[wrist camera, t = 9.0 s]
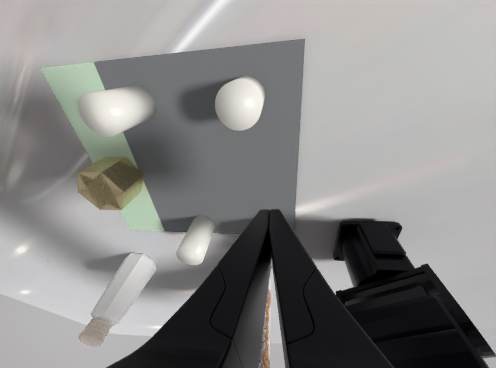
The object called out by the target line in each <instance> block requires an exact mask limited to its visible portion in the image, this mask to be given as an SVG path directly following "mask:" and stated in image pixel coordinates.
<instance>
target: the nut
mask: <svg viewBox="0 0 496 368" xmlns="http://www.w3.org/2000/svg"><path fill="white" fill-rule="evenodd" d="M77 177H78V192H79V193H80V194H81V195H82V196H84V197H85V198H86V199H87V200H89V201H90V202H91V203H92V204H94V205H95V206H96V207H97V208H99V209H100V210H122V209H123V208H124V207H125V206H126V205H128V204H129V203H130V202H131V201H132V200H133V199H134V198H135V197H136V196H137V195H138V194H139V193H140V192H141V189H142V184H143V178H144V175H143V174H142V173H141V172H140V171H139V170H138V169H137V168H136V167H135V166H134V165H133V164H132V163H131V162H130V161H129V160H128V159H127V158H126V157H104V158H102V159H100V160H99V161H97V162H95V163H93V164H91V165H90V166H88V167H86V168H84V169H82V170H81V171H79V172H77Z"/></svg>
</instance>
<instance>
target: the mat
mask: <svg viewBox="0 0 496 368" xmlns="http://www.w3.org/2000/svg"><path fill="white" fill-rule="evenodd" d="M304 46H305V39H298V40H289V41H280V42H271V43H262V44H253V45H244V46H235V47H226V48H217V49H208V50H199V51H190V52H181V53H172V54H163V55H153V56H144V57H135V58H126V59H117V60H108V61H99V62H90V63H81V64H72V65H63V66H54V67H45V68H40V69H41V71H42V72H43V74H44V76H45V78H46V80H47V81H48V83H49V85H50V87H51V89H52V91H53V92H54V94H55V96H56V98H57V100H58V101H59V103H60V105H61V107H62V109H63V111H64V112H65V114H66V116H67V118H68V120H69V121H70V123H71V125H72V127H73V129H74V131H75V132H76V134H77V136H78V138H79V140H80V141H81V143H82V145H83V147H84V149H85V151H86V152H87V154H88V156H89V158H90V160H91V161H92V163H95V162H97V161H99V160H100V159H102V158H104V157H126V158H127V159H128V160H129V161H130V162H131V163H132V164H133V165H134V166H135V167H136V168H137V169H138V170H139V171H140V172H141V173H142V174H143V175H144V178H143V184H142V189H141V192H140V193H139V194H138V195H137V196H136V197H135V198H134V199H133V200H132V201H131V202H130V203H129V204H128V205H126V206H125V207H124V208H123V209H122V210H119V212H120V214H121V216H122V218H123V220H124V221H125V223H126V225H127V227H128V229H129V230H145V231H171V232H187V231H188V229H189V227H190V225H191V223H192V221H193V219H194V218H195V217H197V216H207V217H209V218H211V219H212V220H213V221H214V223H215V229H214V232H213V233H237V234H242V232H243V231H244V230H245V229H246V227H247V226H248V225H249V223H250V222H251V221H252V220H253V218H254V217H255V216H256V214H257V213H258V212H259V211H260V210H261V209H269V210H271V209H280V210H281V212H282V213H283V215H284V217H285V218H286V220H287V221H288V223H289V224H290V226H291V228H292V229H293V231H294V221H295V204H296V186H297V169H298V151H299V134H300V116H301V98H302V81H303V63H304ZM242 76H253V77H255V78H257V79H258V80H259V81H260V82H261V83H262V85H263V87H264V90H265V100H264V104H263V107H262V111H261V114H260V117H259V119H258V121H257V122H256V123H255V124H254V125H253V126H252V127H251V128H249V129H246V130H242V131H237V130H232V129H230V128H228V127H226V126H225V125H224V124H223V123H222V122H221V121H220V119H219V118H218V116H217V113H216V110H215V99H216V96H217V93H218V91H219V90H220V89H221V87H223V86H224V85H225V84H227V83H229V82H231V81H233V80H235V79H237V78H240V77H242ZM134 85H137V86H141V87H143V88H145V89H146V90H148V91H149V92H150V93H151V95H152V96H153V98H154V100H155V102H156V113H155V115H154V117H153V118H151V119H149V120H147V121H145V122H143V123H141V124H138V125H136V126H134V127H132V128H130V129H128V130H125V131H123V132H121V133H119V134H117V135H115V136H112V137H105V136H101V135H99V134H97V133H95V132H94V131H92V130H91V129H90V128H89V127H88V126H87V125H86V124H85V122H84V121H83V119H82V118H81V115H80V113H79V109H78V103H79V100H80V98H81V97H82V96H83V95H84V94H87V93H93V92H99V91H105V90H110V89H116V88H122V87H128V86H134Z"/></svg>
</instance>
